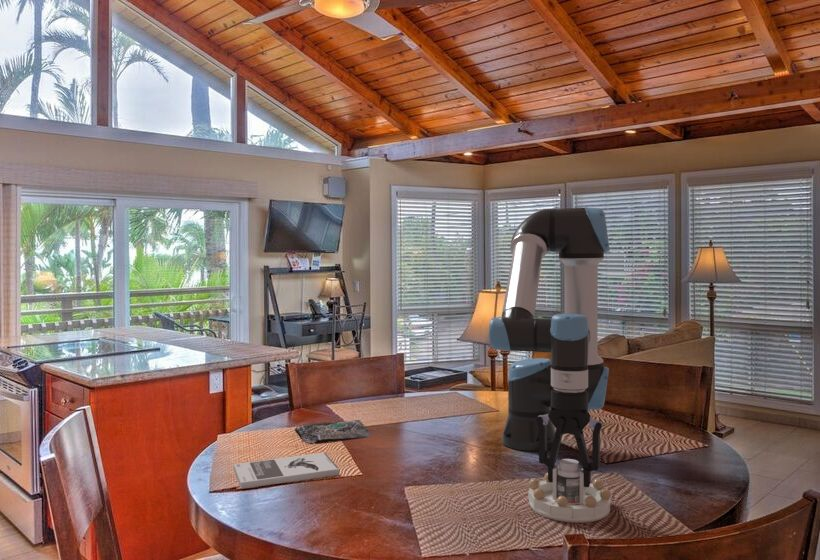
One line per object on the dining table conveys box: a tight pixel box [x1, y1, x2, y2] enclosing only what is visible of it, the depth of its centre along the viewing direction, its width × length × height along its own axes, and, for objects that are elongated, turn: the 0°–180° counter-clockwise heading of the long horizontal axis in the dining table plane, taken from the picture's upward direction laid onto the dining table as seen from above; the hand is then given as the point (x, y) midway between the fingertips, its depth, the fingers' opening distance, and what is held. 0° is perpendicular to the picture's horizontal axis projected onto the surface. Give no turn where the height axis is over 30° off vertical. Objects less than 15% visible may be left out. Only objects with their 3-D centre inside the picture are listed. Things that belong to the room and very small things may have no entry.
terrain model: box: [294, 419, 372, 445], centre depth 187 cm, size 20×15×3 cm
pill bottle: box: [557, 458, 581, 505], centre depth 132 cm, size 5×5×8 cm
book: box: [233, 452, 340, 490], centre depth 154 cm, size 23×14×2 cm, turn 112°
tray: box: [527, 472, 612, 524], centre depth 132 cm, size 17×17×5 cm
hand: (569, 499), depth 132 cm, fingers closed on pill bottle, 5 cm apart
